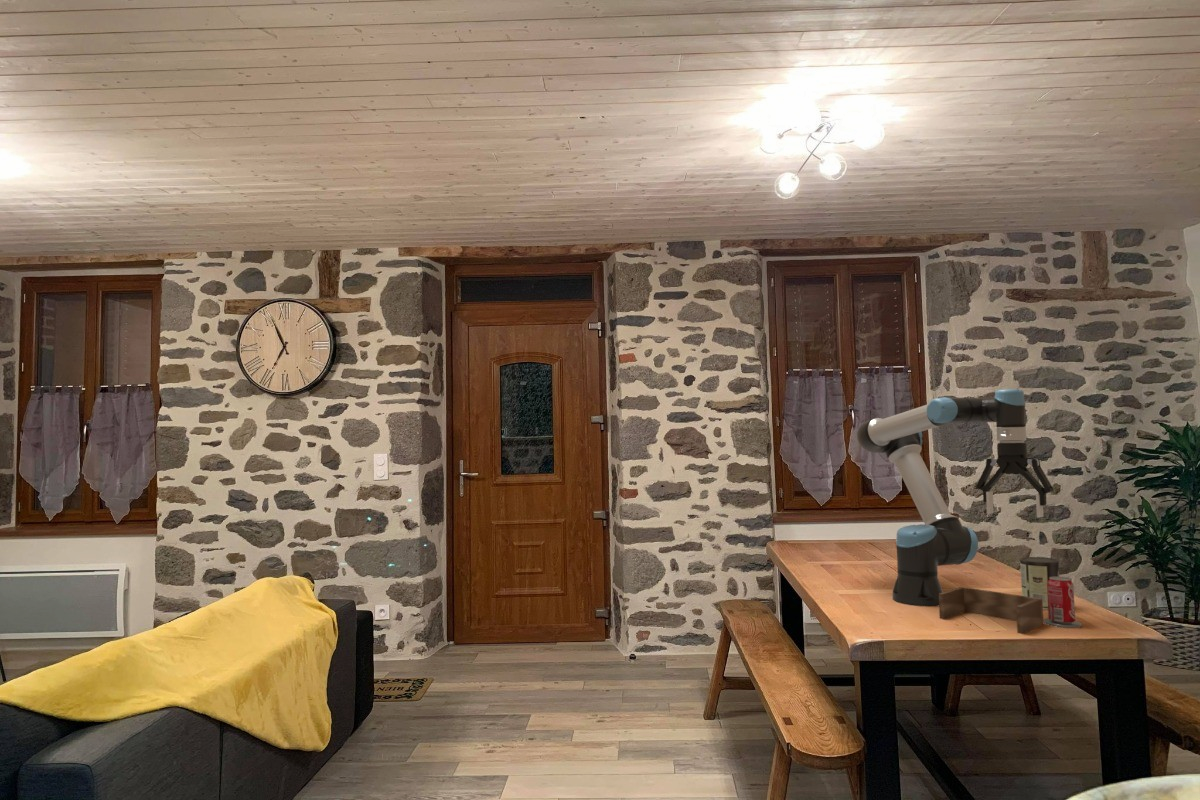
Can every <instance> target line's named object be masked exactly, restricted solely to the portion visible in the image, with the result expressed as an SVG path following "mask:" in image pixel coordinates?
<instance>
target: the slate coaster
mask: <svg viewBox="0 0 1200 800" xmlns="http://www.w3.org/2000/svg"><path fill="white" fill-rule="evenodd" d="M1045 623H1046V624H1045ZM1043 624H1045V625H1047V624H1049V625H1048V626H1051V625H1052V626H1051V627H1055V626H1057V627H1056V628H1062V627H1063V628H1065V629H1079V628H1082V627H1083V624H1082V622H1080V621H1077V620H1075V621H1074V622H1072V623H1071V624H1059V623H1055V622H1053V621H1052V620H1050V619H1049V617H1047V618H1043ZM1081 626H1082V627H1081Z"/></svg>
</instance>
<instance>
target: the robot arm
mask: <svg viewBox="0 0 1200 800" xmlns="http://www.w3.org/2000/svg"><path fill="white" fill-rule="evenodd" d="M1024 393H1025V392H1024V391H1023V390H1022V389H1020V388H1007V389H997V390H996V391H995V392H994V396H992V397H936V398H933V399H931V400H930V401H929V403H928V404H924V405H921V406H919V407H915V408H913V409H910V410H907V411H904V412H900V413H898V414H897V413H896V414H894V415H891V416H888V417H885V418H881V417H876V418H872V419H869V420H866V421H863V423H861V424H860V426H859V427H858V429H857V431H856V439H857V441H858V445H860V447H861V448H862V449H863V450H865V451H867V452H870V453H874V454H875V453H878V454H880V453H881V454H883V453H884V454H885V455H886V458H887V460H888V461H889V462H890V463H892V464H895V465H896V468H897V470H898V472H899V473H900V476H901V477H902V481H903V482H904V484H905V486H906V488H907V490H908V492H909V495H910V497H911V499H912V501H913V502H914V504H915V507H916V509H917V511H918V513H919V515H920V517H921V520H922V521H923V523H924V524H923V523H922V524H909V525H905V526H902V527H899V528H898V530H897V532H896V540H895V544H896V558H897V560H896V565H897V576H896V579H895V583H894V586H893V590H892V593H891V594H892V600H893V601H894V602H896V603H899V604H901V605H902V604H903V605H908V606H913V607H937V606H938V605H939V593H943V592H944V590H943V587H942V585H941V583H940V581H939V577H938V573H939V572H938V567H939V566H950V565H951V566H952V565H958V566H959V565H961V564H966V563H970V562H971V561H973V560H974V558H975V557H976V556H977V553H978V549H979V540H978V536H977V534H976V532H975V531H974V530H973V529H972V528H969V527H968V526H966V525H962V523H961V521H960V519H959V517H958V516H955V515H952V514H951V512H950V510H949V508H948V505H947V504H946V502H945V500H944V499H943V496H942V494H941V493H940V491H939V489H938V487H937V485H936V483H935V481H934V479H933V477H932V476H931V473H930V471H929V469H928V468H927V465H926V463H925V461H924V460H923V457H922V455H921V452H922V449H923V448H922V445H923V432H924V431H928V430H931V429H935V428H939V427H942V426H947V425H950V424H960V423H961V424H963V423H964V424H965V423H966V424H967V423H970V424H980V423H996V424H995V425H996V440H997V441H998V442H999V443H997V444H996V445H997V447H996V448H997V459H995V458H992V457H991V458H990V457H988V458H986V460H985V467H984V468H983V471H982V473H981V475H980V477H979V479H978V482H977V484H976V486H975V488H976V489H977V490H981V491H982V495H983V496H982V497H983V498H982V499H983V502H984V503H986V514H988V515H991V514H994V491H993V490H992V491H991V489H993V487H994V486H995V485H996V484H997V482H998V481H999V480H1000V479H1001V478H1002V477H1003V476H1004V475H1005V474H1006V475H1010V474H1011V475H1020V476H1022V477H1024V479H1026V481H1027V482H1028V483H1029V484H1030V485H1031V486H1032V488H1033V489H1034V490H1036V492H1038V493H1036V494H1035V502H1036V504H1035V505H1036V508H1035V509H1036V518H1044V506H1047V494H1048V493H1052V492H1054V487H1053V485H1052V484H1051V483H1050V480H1049V479H1048V477H1047V476H1046V474H1045V472H1044V470H1043V469H1042V466H1041V461H1040V459H1038V458H1032V459H1028V449H1027V448H1028V447H1027V446H1028V445H1027V443H1026V442H1025V441H1027V428H1026V400H1025V394H1024ZM996 464H997V465H998V467H999V468H998V469H997V470H996V471H995V473H994V474H993V476H991V478H989V477H990V475H991V474H992V471H993V469H994V466H996ZM1029 465H1030V467H1031V468H1032V469H1033V472H1034V473H1035V475H1036V476H1037V478H1038V480H1039V481H1038V480H1037V479H1036V477H1034V475H1032V473H1031V472H1030V470H1029V469H1028V468H1027V467H1028V466H1029ZM988 479H989V480H988ZM938 607H939V606H938Z"/></svg>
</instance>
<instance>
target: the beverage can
mask: <svg viewBox="0 0 1200 800" xmlns="http://www.w3.org/2000/svg"><path fill="white" fill-rule="evenodd" d="M1047 594H1048V610H1047V612H1048V613H1047V614H1048V615H1047V616H1048V617H1047V618H1049V619H1050V620H1052V621H1053V622H1055V623H1059V624H1071V623H1072V622H1074V621H1076V610H1075V586H1074V583H1073V582H1072V580H1071V578H1069V577H1065V576H1059V577H1058V576H1053V577H1049V580H1048V582H1047Z"/></svg>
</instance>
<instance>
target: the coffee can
mask: <svg viewBox="0 0 1200 800" xmlns="http://www.w3.org/2000/svg"><path fill="white" fill-rule="evenodd" d="M1019 562H1020V566H1019V567H1020V582H1021V583H1020V584H1021V585H1020V586H1021V587H1020V588H1021V596H1026V597H1033V598H1040V599H1042V603H1043V611H1044V610H1045V611H1046V610H1047V611H1048V594H1047V582H1048V580H1049V577H1053V576H1058V577H1060V569H1059V568H1060V566H1059V565H1060V561H1059V560H1058V559H1056V558H1055V559H1054V558H1050V557H1042V556H1041V557H1040V556H1036V557H1035V556H1025V557H1020V558H1019Z"/></svg>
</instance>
